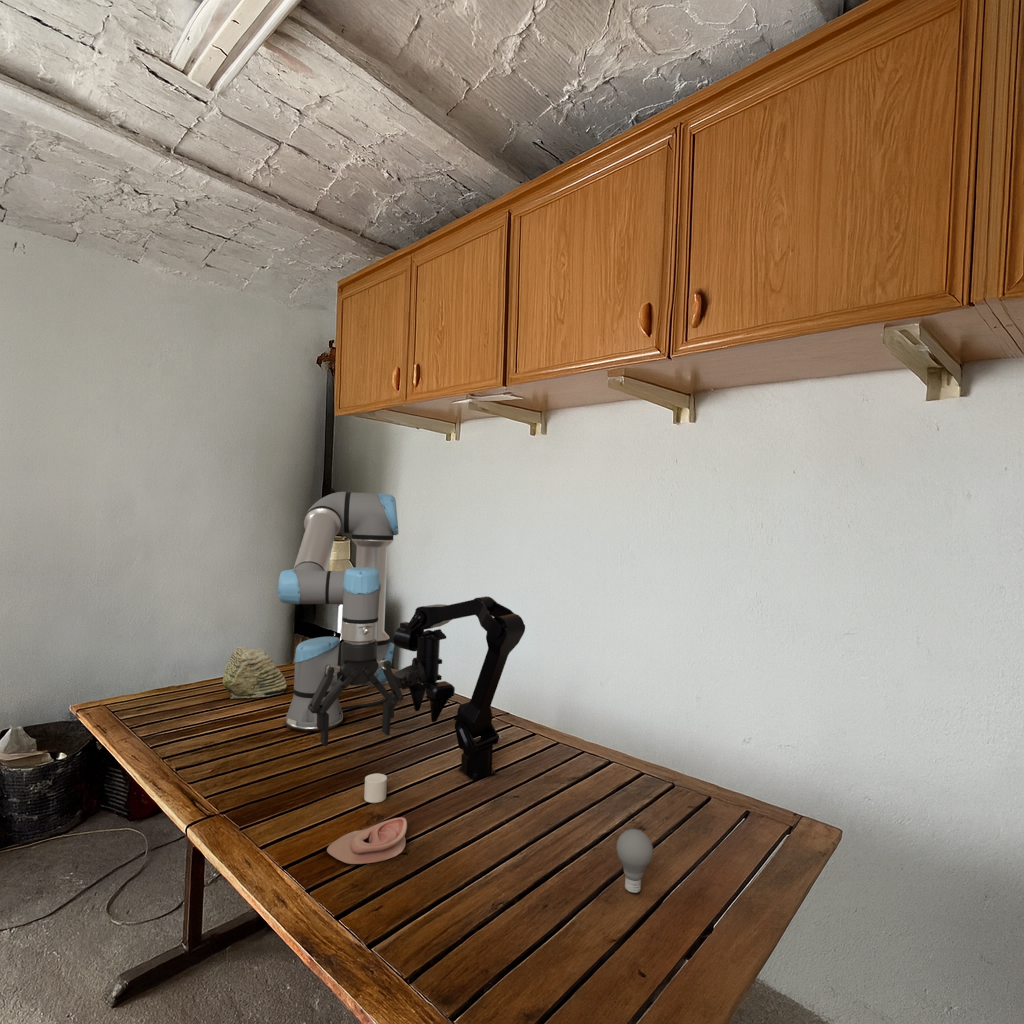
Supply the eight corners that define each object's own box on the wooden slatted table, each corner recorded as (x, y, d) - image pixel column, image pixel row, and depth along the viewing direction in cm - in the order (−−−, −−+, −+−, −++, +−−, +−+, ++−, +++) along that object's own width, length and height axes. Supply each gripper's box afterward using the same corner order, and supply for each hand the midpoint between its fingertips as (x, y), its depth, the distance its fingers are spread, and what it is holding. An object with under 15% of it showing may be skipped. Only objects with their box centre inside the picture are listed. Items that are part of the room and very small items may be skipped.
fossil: (218, 695, 195) (220, 647, 195) (278, 685, 208) (279, 640, 207) (228, 703, 189) (230, 653, 188) (289, 692, 201) (290, 645, 201)
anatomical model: (319, 836, 111) (348, 806, 122) (318, 859, 111) (348, 826, 122) (390, 848, 108) (414, 816, 119) (389, 871, 108) (413, 836, 119)
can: (380, 804, 132) (381, 784, 132) (360, 801, 133) (361, 781, 133) (389, 794, 136) (390, 775, 136) (369, 791, 137) (370, 772, 137)
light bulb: (610, 879, 108) (613, 822, 108) (644, 879, 109) (647, 822, 109) (619, 902, 102) (622, 840, 102) (655, 901, 103) (658, 840, 103)
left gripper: (304, 649, 126) (301, 755, 126) (420, 639, 139) (416, 734, 140) (295, 641, 132) (291, 742, 133) (406, 632, 145) (403, 723, 146)
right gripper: (383, 650, 163) (380, 710, 163) (415, 667, 148) (412, 733, 148) (422, 645, 169) (419, 703, 170) (457, 662, 154) (454, 725, 154)
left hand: (355, 738), depth 136 cm, fingers open, 13 cm apart
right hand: (425, 716), depth 160 cm, fingers open, 9 cm apart
